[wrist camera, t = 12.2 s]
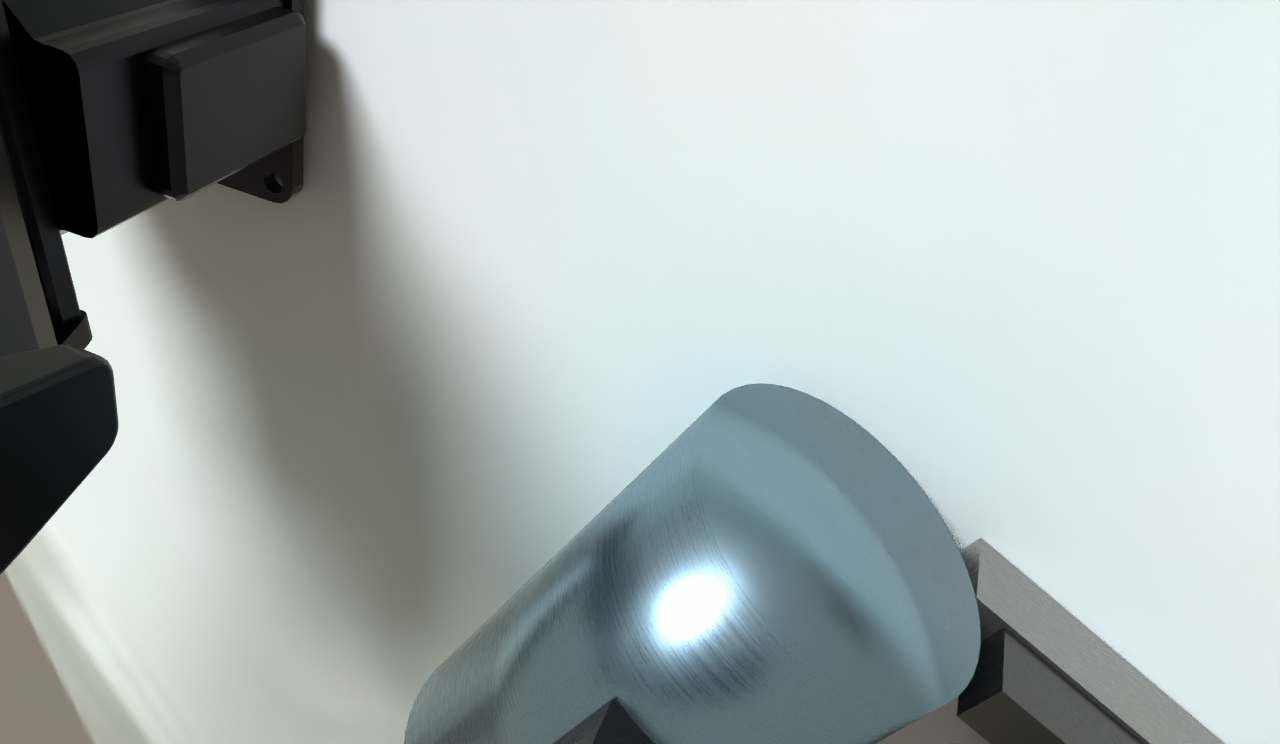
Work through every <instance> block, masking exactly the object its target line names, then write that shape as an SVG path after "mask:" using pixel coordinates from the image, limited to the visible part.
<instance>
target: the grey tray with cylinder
mask: <svg viewBox="0 0 1280 744" xmlns="http://www.w3.org/2000/svg"><path fill="white" fill-rule="evenodd" d="M404 744H1224V743H1223V742H1222V741H1221V740H1220V739H1218V738H1217V737H1216V736H1215V735H1214V734H1212V733H1211V732H1210V731H1209V730H1208V729H1207V728H1205V727H1204V726H1203V725H1202V724H1201V723H1199V722H1198V721H1197V720H1196V719H1195V718H1194V717H1192V716H1191V715H1190V714H1189V713H1188V712H1186V711H1185V710H1184V709H1183V708H1182V707H1180V706H1179V705H1178V704H1177V703H1176V702H1175V701H1173V700H1172V699H1171V698H1170V697H1169V696H1167V695H1166V694H1165V693H1164V692H1163V691H1162V690H1160V689H1159V688H1158V687H1157V686H1156V685H1154V684H1153V683H1152V682H1151V681H1150V680H1149V679H1147V678H1146V677H1145V676H1144V675H1143V674H1141V673H1140V672H1139V671H1138V670H1137V669H1136V668H1134V667H1133V666H1132V665H1131V664H1130V663H1128V662H1127V661H1126V660H1125V659H1124V658H1123V657H1121V656H1120V655H1119V654H1118V653H1117V652H1115V651H1114V650H1113V649H1112V648H1111V647H1110V646H1108V645H1107V644H1106V643H1105V642H1104V641H1102V640H1101V639H1100V638H1099V637H1098V636H1097V635H1095V634H1094V633H1093V632H1092V631H1091V630H1089V629H1088V628H1087V627H1086V626H1085V625H1084V624H1082V623H1081V622H1080V621H1079V620H1078V619H1076V618H1075V617H1074V616H1073V615H1072V614H1071V613H1069V612H1068V611H1067V610H1066V609H1065V608H1063V607H1062V606H1061V605H1060V604H1059V603H1057V602H1056V601H1055V600H1054V599H1053V598H1052V597H1050V596H1049V595H1048V594H1047V593H1046V592H1044V591H1043V590H1042V589H1041V588H1040V587H1039V586H1037V585H1036V584H1035V583H1034V582H1033V581H1031V580H1030V579H1029V578H1028V577H1027V576H1026V575H1024V574H1023V573H1022V572H1021V571H1020V570H1018V569H1017V568H1016V567H1015V566H1014V565H1013V564H1011V563H1010V562H1009V561H1008V560H1007V559H1005V558H1004V557H1003V556H1002V555H1001V554H1000V553H998V552H997V551H996V550H995V549H994V548H992V547H991V546H990V545H989V544H988V543H987V542H985V541H984V540H983V539H982V538H980V539H979V540H977V541H976V542H974V543H973V544H971V545H970V546H968V547H967V548H965V549H964V550H962V551H961V552H960V551H959V549H958V547H957V545H956V543H955V541H954V539H953V537H952V535H951V533H950V532H949V530H948V528H947V526H946V525H945V523H944V521H943V520H942V518H941V516H940V514H939V513H938V511H937V510H936V508H935V507H934V505H933V504H932V502H931V501H930V499H929V498H928V496H927V495H926V494H925V493H924V491H923V490H922V489H921V487H920V486H919V485H918V483H917V482H916V481H915V479H914V478H913V477H912V476H911V475H910V474H909V472H908V471H907V470H906V469H905V468H904V467H903V465H902V464H901V463H900V462H899V461H898V460H897V459H896V458H895V457H894V456H893V455H892V454H891V453H890V452H889V451H888V450H887V449H886V448H885V447H884V446H883V445H882V444H881V443H880V442H879V441H878V440H877V439H875V438H874V437H873V436H872V435H871V434H870V433H869V432H867V431H866V430H865V429H864V428H862V427H861V426H860V425H859V424H857V423H856V422H855V421H854V420H852V419H851V418H849V417H848V416H846V415H845V414H843V413H842V412H840V411H839V410H837V409H836V408H834V407H832V406H830V405H829V404H827V403H825V402H823V401H821V400H819V399H817V398H815V397H813V396H811V395H808V394H806V393H804V392H801V391H798V390H795V389H792V388H788V387H784V386H779V385H774V384H750V385H744V386H741V387H737V388H734V389H732V390H730V391H729V392H727V393H725V394H723V395H722V396H721V397H720V398H719V399H718V400H717V401H716V402H715V403H714V404H712V405H711V406H710V407H709V408H708V409H707V410H706V411H705V412H704V413H703V414H702V415H701V416H700V417H699V418H698V419H697V420H696V421H695V422H694V423H693V424H692V425H691V426H690V427H689V428H687V429H686V430H685V431H684V432H683V433H682V434H681V435H680V436H679V437H678V438H677V439H676V440H675V441H674V442H673V443H672V444H671V445H670V446H669V447H668V448H667V449H666V450H665V451H664V452H662V453H661V454H660V455H659V456H658V457H657V458H656V459H655V460H654V461H653V462H652V463H651V464H650V465H649V466H648V467H647V468H646V469H645V470H644V471H643V472H642V473H641V474H640V475H639V476H638V477H636V478H635V479H634V480H633V481H632V482H631V483H630V484H629V485H628V486H627V487H626V488H625V489H624V490H623V491H622V492H621V493H620V494H619V495H618V496H617V497H616V498H615V499H614V500H613V501H611V502H610V503H609V504H608V505H607V506H606V507H605V508H604V509H603V510H602V511H601V512H600V513H599V514H598V515H597V516H596V517H595V518H594V519H593V520H592V521H591V522H590V523H589V524H588V525H586V526H585V527H584V528H583V529H582V530H581V531H580V532H579V533H578V534H577V535H576V536H575V537H574V538H573V539H572V540H571V541H570V542H569V543H568V544H567V545H566V546H565V547H564V548H563V549H561V550H560V551H559V552H558V553H557V554H556V555H555V556H554V557H553V558H552V559H551V560H550V561H549V562H548V563H547V564H546V565H545V566H544V567H543V568H542V569H541V570H540V571H539V572H538V573H536V574H535V575H534V576H533V577H532V578H531V579H530V580H529V581H528V582H527V583H526V584H525V585H524V586H523V587H522V588H521V589H520V590H519V591H518V592H517V593H516V594H515V595H514V596H513V597H511V598H510V599H509V600H508V601H507V602H506V603H505V604H504V605H503V606H502V607H501V608H500V609H499V610H498V611H497V612H496V613H495V614H494V615H493V616H492V617H491V618H490V619H489V620H488V621H486V622H485V623H484V624H483V625H482V626H481V627H480V628H479V629H478V630H477V631H476V632H475V633H474V634H473V635H472V636H471V637H470V638H469V639H468V640H467V641H466V642H465V643H464V644H463V645H462V646H460V647H459V648H458V649H457V650H456V651H455V652H454V653H453V654H452V655H451V656H450V657H449V658H448V659H447V660H446V661H445V662H444V663H443V664H442V665H441V666H440V667H439V668H438V669H437V670H435V671H434V672H433V674H432V675H431V676H430V677H429V679H428V680H427V681H426V683H425V684H424V685H423V687H422V689H421V691H420V692H419V694H418V696H417V698H416V700H415V702H414V705H413V707H412V710H411V713H410V715H409V720H408V724H407V728H406V732H405V742H404Z"/></svg>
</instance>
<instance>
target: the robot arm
mask: <svg viewBox="0 0 1280 744" xmlns="http://www.w3.org/2000/svg"><path fill="white" fill-rule="evenodd" d="M306 54H307V27H306V24H305V21H304V19H303V0H0V574H1V573H2V572H3V571H4V570H5V569H6V568H7V567H8V566H9V565H10V564H11V563H12V561H13V560H14V559H15V558H16V557H17V556H18V555H19V554H20V553H21V552H22V551H23V549H24V548H25V547H26V546H27V545H28V544H29V543H30V541H31V540H32V539H33V538H34V537H35V536H36V534H37V533H38V532H39V531H40V530H41V529H42V528H43V526H44V525H45V524H46V523H47V522H48V521H49V519H50V518H51V517H52V516H53V515H54V514H55V513H56V511H57V510H58V509H59V508H60V507H61V506H62V504H63V503H64V502H65V501H66V500H67V499H68V498H69V496H70V495H71V494H72V493H73V492H74V491H75V489H76V488H77V487H78V486H79V485H80V484H81V483H82V481H83V480H84V479H85V478H86V477H87V476H88V475H89V473H90V472H91V471H92V470H93V469H94V468H95V466H96V465H97V464H98V463H99V462H100V461H101V460H102V458H103V457H104V456H105V455H106V454H107V452H108V451H109V450H110V448H111V446H112V445H113V443H114V441H115V438H116V436H117V432H118V415H117V405H116V395H115V386H114V376H113V370H112V367H111V365H110V364H109V362H108V361H107V360H106V359H104V358H103V357H101V356H98V355H96V354H94V353H91V352H89V351H86V350H84V349H85V348H86V346H87V345H88V344H89V343H90V341H91V340H92V334H91V330H90V326H89V322H88V318H87V314H86V312H85V311H82V310H80V309H79V305H78V301H77V297H76V293H75V289H74V285H73V281H72V277H71V273H70V269H69V265H68V261H67V257H66V253H65V249H64V245H63V241H62V237H61V235H62V234H64V233H67V232H72V233H74V234H77V235H80V236H83V237H85V238H94V237H96V236H97V235H99V234H101V233H103V232H105V231H107V230H109V229H111V228H113V227H115V226H117V225H119V224H121V223H123V222H125V221H127V220H129V219H131V218H132V217H134V216H136V215H138V214H140V213H142V212H144V211H146V210H148V209H150V208H152V207H154V206H156V205H158V204H160V203H162V202H164V201H165V200H167V199H169V198H171V199H174V200H176V201H180V200H184V199H186V198H188V197H190V196H192V195H194V194H196V193H198V192H199V191H201V190H203V189H205V188H207V187H209V186H211V185H213V184H215V183H219V184H221V185H224V186H227V187H230V188H233V189H236V190H239V191H242V192H245V193H248V194H251V195H254V196H256V197H259V198H262V199H265V200H268V201H271V202H274V203H284V202H286V201H288V200H290V199H292V198H293V197H295V196H297V195H298V194H299V192H300V191H301V190H302V185H303V135H304V134H305V132H306ZM274 173H275V174H277V175H278V176H279V177H280V178H281V180H282V182H283V186H282V185H280V184H279V183H278V182H277V180H276V179H275V175H274Z"/></svg>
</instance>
